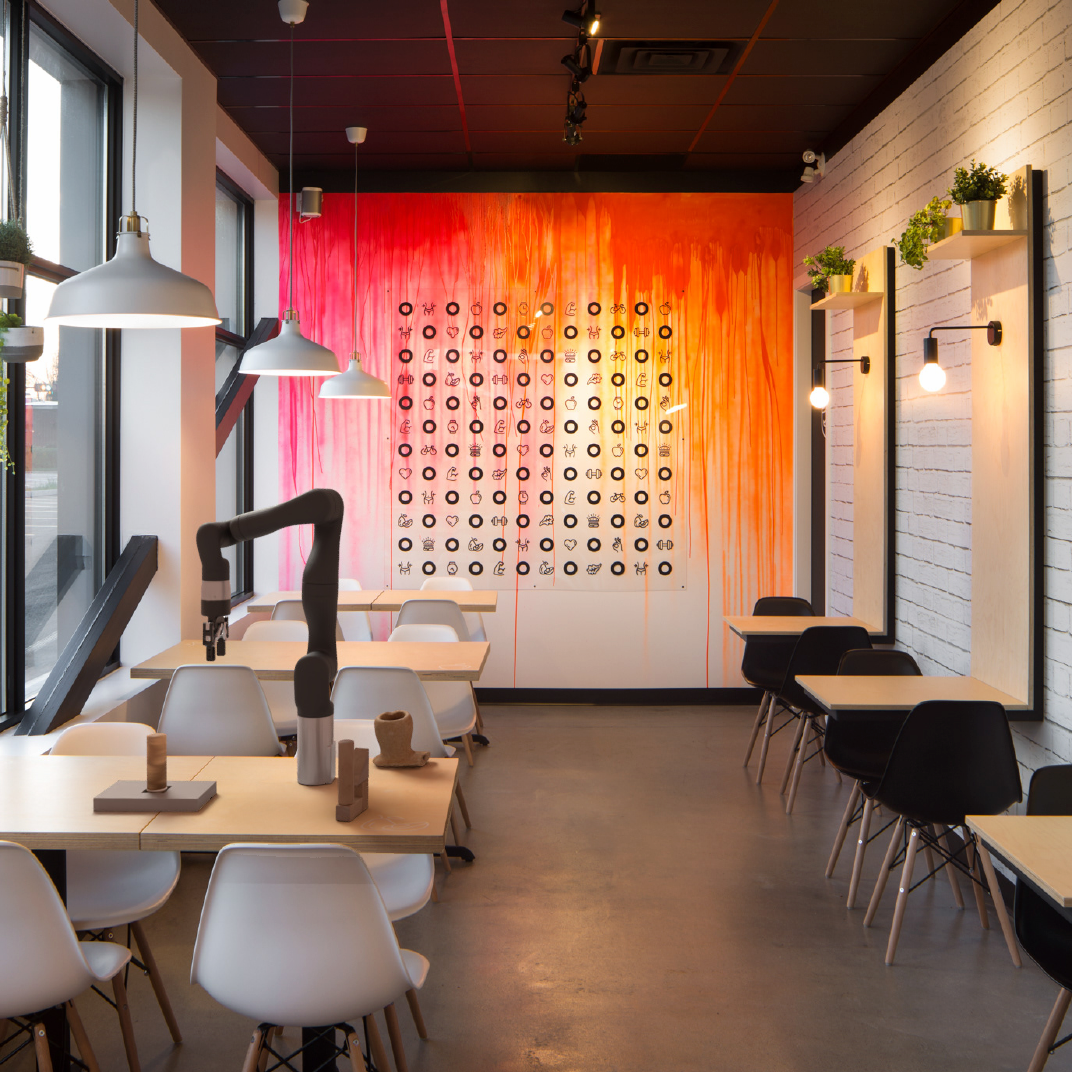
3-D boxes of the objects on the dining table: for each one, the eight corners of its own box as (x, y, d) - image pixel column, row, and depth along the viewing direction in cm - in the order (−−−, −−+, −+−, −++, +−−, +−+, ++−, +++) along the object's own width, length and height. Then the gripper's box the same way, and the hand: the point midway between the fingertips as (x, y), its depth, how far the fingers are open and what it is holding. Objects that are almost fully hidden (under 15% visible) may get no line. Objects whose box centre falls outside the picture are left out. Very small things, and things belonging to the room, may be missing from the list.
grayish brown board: (216, 793, 238) (216, 781, 238) (197, 811, 224) (197, 798, 224) (118, 792, 238) (118, 780, 238) (93, 811, 224) (93, 798, 224)
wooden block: (369, 807, 229) (369, 732, 228) (350, 822, 218) (350, 743, 217) (354, 806, 229) (354, 731, 229) (335, 821, 219) (335, 742, 218)
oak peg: (170, 798, 233) (169, 733, 233) (163, 804, 229) (162, 738, 228) (150, 798, 233) (150, 733, 233) (143, 804, 229) (143, 737, 228)
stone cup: (367, 771, 258) (367, 715, 258) (377, 759, 270) (377, 706, 270) (423, 773, 257) (424, 717, 257) (431, 760, 269) (431, 707, 269)
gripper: (221, 600, 248) (222, 663, 249) (238, 594, 262) (238, 654, 263) (192, 600, 248) (192, 663, 249) (210, 594, 262) (210, 653, 263)
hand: (216, 658), depth 256 cm, fingers open, 8 cm apart
